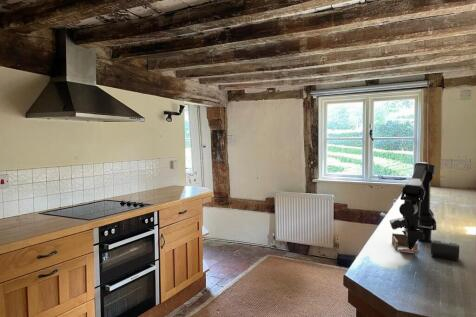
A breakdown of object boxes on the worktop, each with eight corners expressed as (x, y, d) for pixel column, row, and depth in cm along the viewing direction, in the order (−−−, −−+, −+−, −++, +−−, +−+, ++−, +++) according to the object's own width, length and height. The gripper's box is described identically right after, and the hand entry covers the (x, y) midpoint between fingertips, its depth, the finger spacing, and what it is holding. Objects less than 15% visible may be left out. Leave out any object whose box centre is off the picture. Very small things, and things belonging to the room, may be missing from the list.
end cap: (430, 258, 141) (431, 242, 141) (430, 253, 147) (431, 238, 147) (458, 263, 136) (459, 246, 135) (457, 258, 142) (458, 242, 141)
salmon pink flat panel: (398, 249, 149) (402, 248, 141) (415, 250, 147) (419, 250, 139) (398, 250, 149) (402, 250, 141) (415, 252, 147) (420, 252, 139)
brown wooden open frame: (391, 243, 160) (392, 233, 160) (411, 245, 158) (412, 235, 157) (395, 250, 150) (396, 239, 149) (417, 252, 147) (417, 241, 147)
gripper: (388, 207, 152) (386, 241, 153) (395, 216, 134) (393, 253, 135) (415, 209, 149) (413, 243, 150) (425, 218, 131) (423, 257, 132)
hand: (410, 249), depth 142 cm, fingers closed
